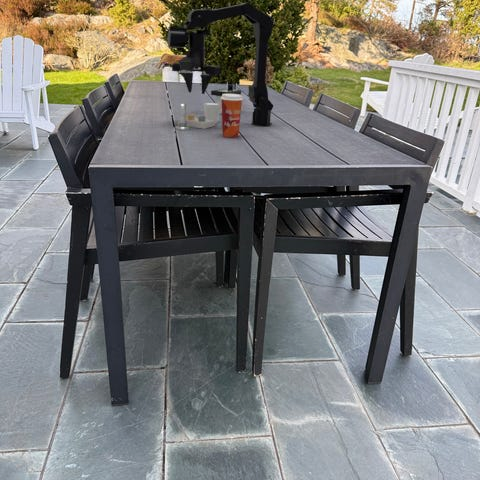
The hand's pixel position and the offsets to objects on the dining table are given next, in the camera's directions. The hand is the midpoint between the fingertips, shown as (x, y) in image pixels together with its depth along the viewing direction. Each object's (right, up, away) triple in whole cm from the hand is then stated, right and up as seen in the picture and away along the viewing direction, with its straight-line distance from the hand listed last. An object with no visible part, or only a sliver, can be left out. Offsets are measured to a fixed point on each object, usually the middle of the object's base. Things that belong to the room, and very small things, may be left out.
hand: (196, 93), depth 166 cm
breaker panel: (-1, -11, +5) cm, 12 cm away
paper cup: (+13, -19, -10) cm, 25 cm away
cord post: (-5, -14, -3) cm, 15 cm away
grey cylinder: (+5, -7, +14) cm, 17 cm away
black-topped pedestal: (+11, +3, +37) cm, 38 cm away
